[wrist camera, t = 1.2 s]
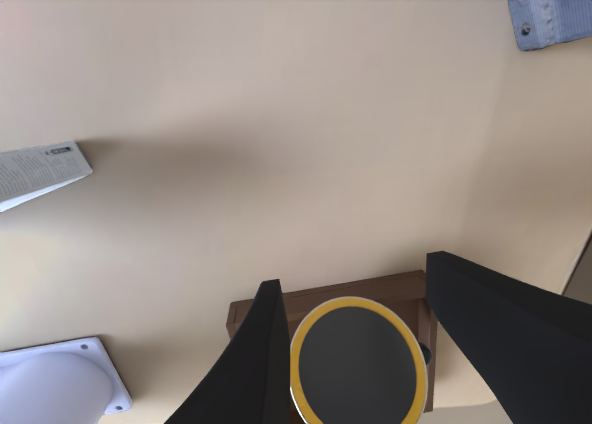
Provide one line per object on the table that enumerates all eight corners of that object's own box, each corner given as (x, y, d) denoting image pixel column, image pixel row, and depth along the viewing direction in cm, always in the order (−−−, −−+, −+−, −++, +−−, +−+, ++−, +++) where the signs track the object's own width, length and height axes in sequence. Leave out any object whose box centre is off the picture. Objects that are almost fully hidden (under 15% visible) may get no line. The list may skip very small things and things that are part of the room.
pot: (289, 367, 23) (300, 543, 14) (266, 262, 20) (261, 404, 10) (385, 349, 24) (461, 512, 14) (380, 242, 20) (479, 364, 10)
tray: (262, 414, 26) (261, 442, 24) (230, 302, 21) (225, 325, 19) (419, 385, 27) (432, 411, 24) (422, 269, 22) (439, 288, 20)
